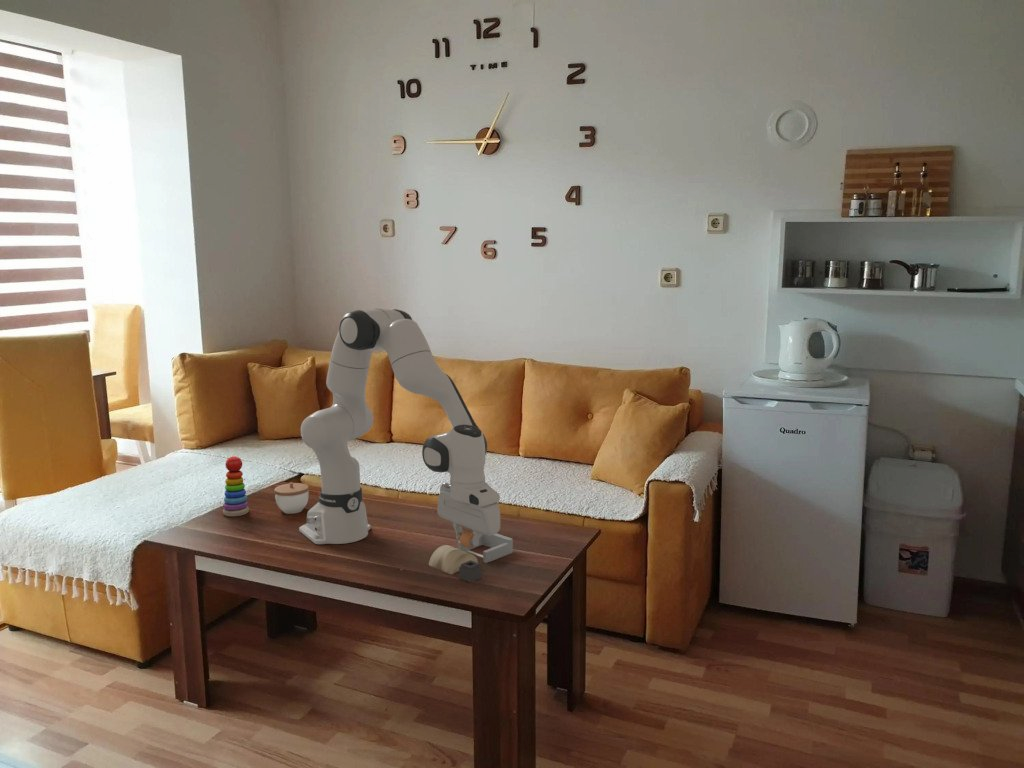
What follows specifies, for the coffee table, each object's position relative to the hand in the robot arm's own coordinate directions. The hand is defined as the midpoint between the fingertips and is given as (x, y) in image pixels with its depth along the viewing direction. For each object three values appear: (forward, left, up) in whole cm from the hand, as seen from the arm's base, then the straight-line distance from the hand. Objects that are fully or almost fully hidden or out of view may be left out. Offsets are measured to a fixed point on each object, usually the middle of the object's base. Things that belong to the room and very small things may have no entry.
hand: (467, 542), depth 201 cm
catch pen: (-9, +15, -10) cm, 20 cm away
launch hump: (-9, +3, -16) cm, 18 cm away
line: (-9, +12, -10) cm, 18 cm away
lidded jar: (-81, -3, -10) cm, 82 cm away
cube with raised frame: (+1, 0, -10) cm, 10 cm away
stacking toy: (-92, -17, -10) cm, 94 cm away
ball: (0, 0, +1) cm, 1 cm away
